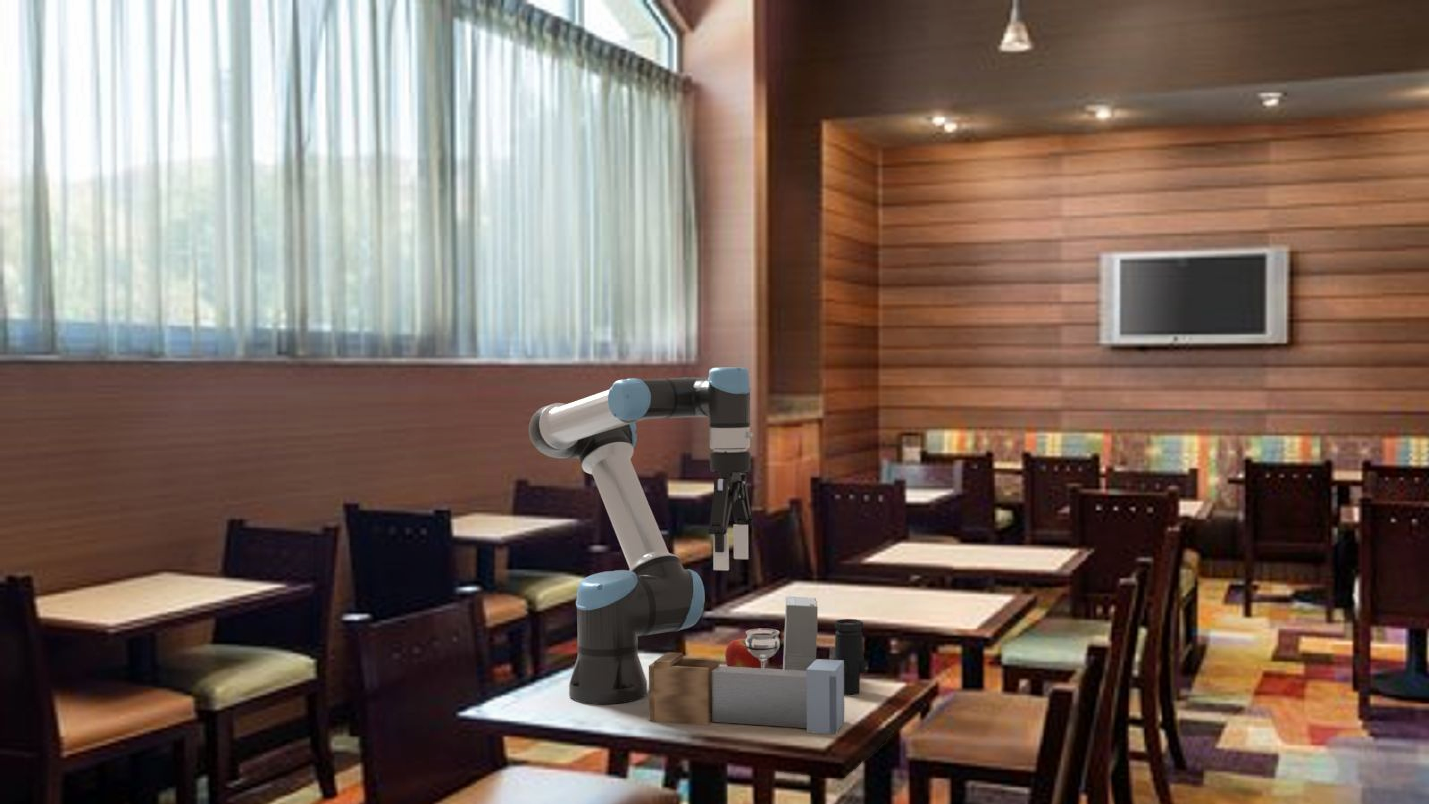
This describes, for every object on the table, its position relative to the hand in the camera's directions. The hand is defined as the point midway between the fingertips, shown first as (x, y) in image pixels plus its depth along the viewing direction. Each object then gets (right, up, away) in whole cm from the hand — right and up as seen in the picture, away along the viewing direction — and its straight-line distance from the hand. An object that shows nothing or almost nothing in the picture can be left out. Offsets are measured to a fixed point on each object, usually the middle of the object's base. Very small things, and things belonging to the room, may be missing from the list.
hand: (731, 564), depth 245 cm
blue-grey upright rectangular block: (+16, -27, -13) cm, 34 cm away
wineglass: (+6, -27, +10) cm, 29 cm away
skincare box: (+14, -26, +24) cm, 38 cm away
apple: (+3, -26, +21) cm, 34 cm away
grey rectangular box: (+7, -27, -11) cm, 30 cm away
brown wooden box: (-8, -27, -6) cm, 29 cm away
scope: (+22, -26, +11) cm, 36 cm away
